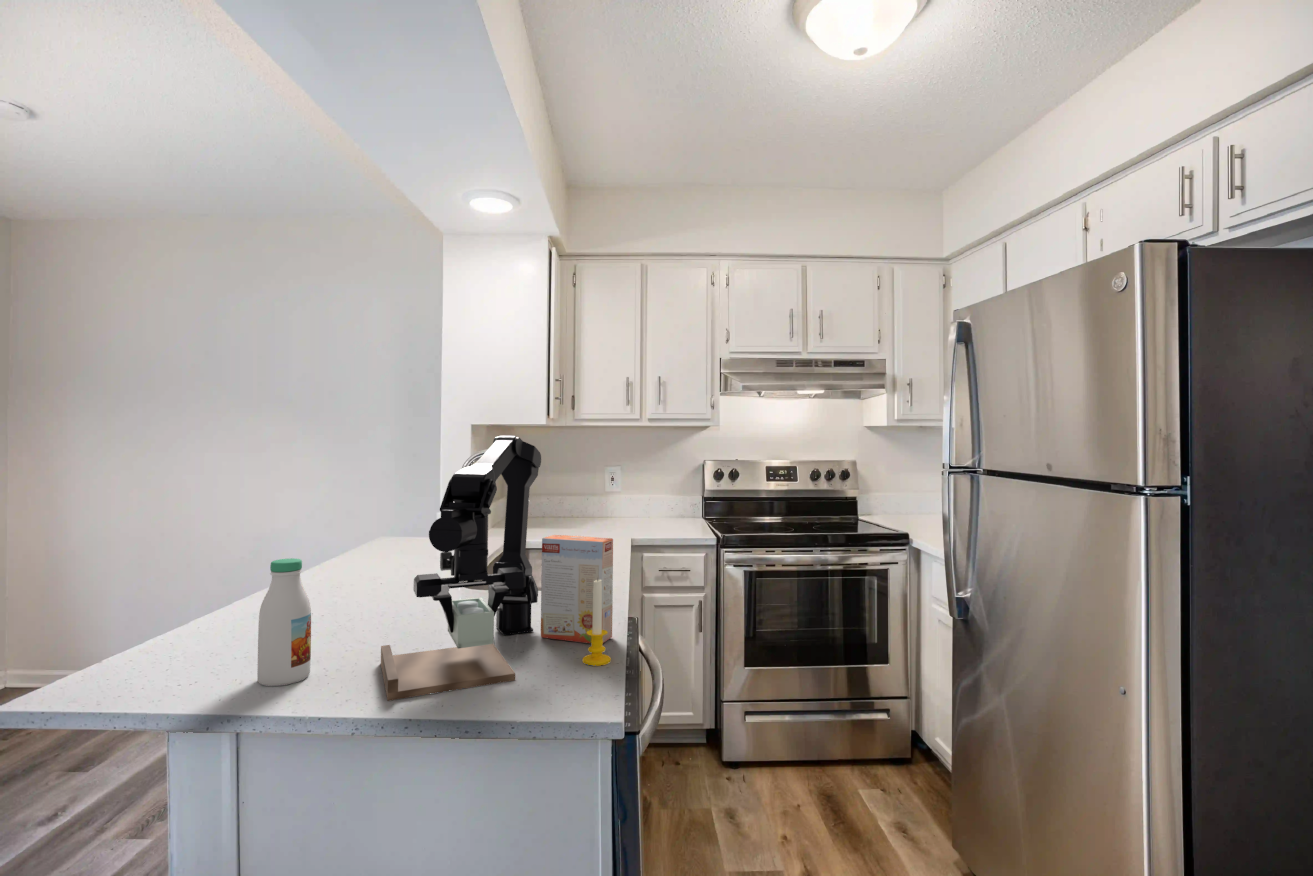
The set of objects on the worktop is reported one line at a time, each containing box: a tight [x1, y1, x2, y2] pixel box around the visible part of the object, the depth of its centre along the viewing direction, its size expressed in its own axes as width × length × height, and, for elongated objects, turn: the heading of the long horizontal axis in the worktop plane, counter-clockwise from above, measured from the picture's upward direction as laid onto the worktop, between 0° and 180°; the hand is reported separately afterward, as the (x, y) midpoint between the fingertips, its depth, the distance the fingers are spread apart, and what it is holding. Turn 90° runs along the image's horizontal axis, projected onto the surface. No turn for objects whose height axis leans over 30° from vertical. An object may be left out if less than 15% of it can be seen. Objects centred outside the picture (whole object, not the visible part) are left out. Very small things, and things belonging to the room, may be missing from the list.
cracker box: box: [540, 534, 614, 644], centre depth 130 cm, size 14×6×21 cm, turn 71°
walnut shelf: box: [380, 644, 516, 702], centre depth 110 cm, size 20×18×3 cm
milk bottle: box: [257, 557, 312, 687], centre depth 106 cm, size 8×8×20 cm
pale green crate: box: [447, 596, 495, 649], centre depth 112 cm, size 6×11×6 cm, turn 27°
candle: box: [582, 579, 612, 667], centre depth 116 cm, size 5×5×16 cm
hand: (470, 629), depth 112 cm, fingers closed on pale green crate, 6 cm apart
